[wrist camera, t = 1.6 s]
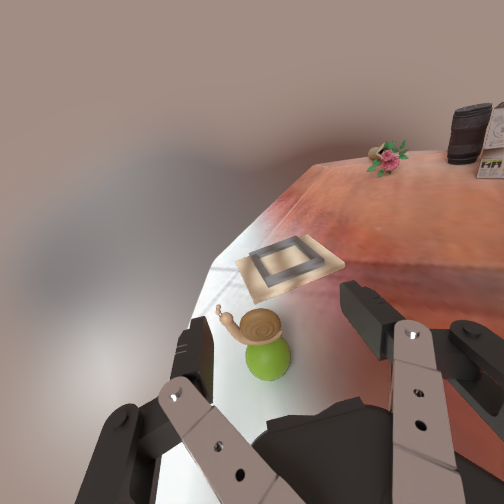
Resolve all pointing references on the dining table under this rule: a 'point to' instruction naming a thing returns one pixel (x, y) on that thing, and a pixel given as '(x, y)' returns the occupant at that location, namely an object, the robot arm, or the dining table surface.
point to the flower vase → (386, 157)
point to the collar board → (286, 266)
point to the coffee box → (494, 147)
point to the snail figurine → (260, 342)
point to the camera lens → (468, 133)
